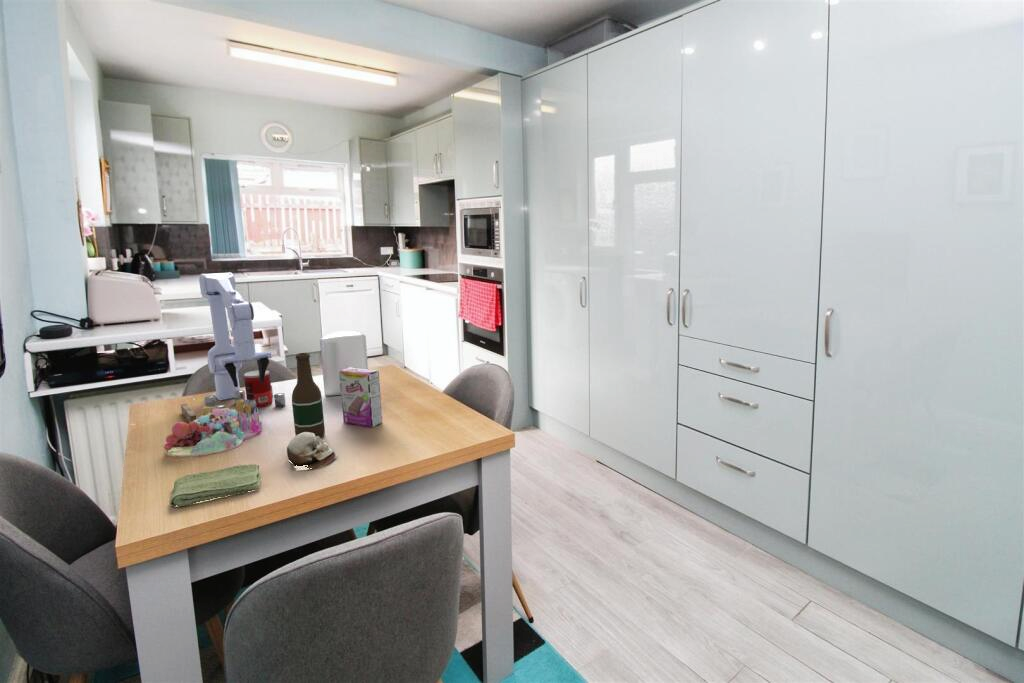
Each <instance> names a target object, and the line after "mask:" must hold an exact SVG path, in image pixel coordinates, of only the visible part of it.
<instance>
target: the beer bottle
mask: <svg viewBox="0 0 1024 683" xmlns="http://www.w3.org/2000/svg"><path fill="white" fill-rule="evenodd" d="M310 358H311V355H310V353H308V352H301V353H300V352H299V353H297V354H296V355H295V360H296V374H297V376H296V377H297V379H296V385H295V386H294V389H293V390H292V393H291V404H292V405H291V406H292V407H291V408H292V415H293V422H294V423H293V426H294V434H295V436H297V435H298V434H300V433H303V432H310V433H314V434H315V436H316V437H317V436H319V437H320V438H321V439H322V440H323V438H324V436H325V434H326V431H325V429H326V428H325V427H326V426H325V420H324V419H325V418H324V405H323V397H322V391H321V390H320V387H319V385H318V384H316V382H315V381H314V377H313V374H312V368H311V367H312V366H311V361H310Z"/></svg>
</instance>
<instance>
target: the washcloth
mask: <svg viewBox="0 0 1024 683" xmlns="http://www.w3.org/2000/svg"><path fill="white" fill-rule="evenodd" d="M259 470H260V465H259V464H255V463H253V464H252V463H251V464H242V465H241V464H239V465H234V466H230V467H225V468H221V469H220V468H219V469H216V470H211V471H204V472H197V473H192V474H186V475H183V476H182V477H178V478H176V479H175V481H174V482H173V490H172V494H171V496H170V500H169V505H170V507H172V506H176V505H177V506H183V507H185V506H184V505H188V506H191V505H190V504H193V503H196V502H200V501H205V500H210V499H213V498H218V497H225V496H228V495H234V494H238V493H242V494H244V493H243V492H247V493H249V492H248V491H252V490H257V491H259V490H260V483H261V476H262V475H261V474H260V471H259ZM238 495H239V494H238ZM234 496H235V495H234ZM225 498H226V497H225Z"/></svg>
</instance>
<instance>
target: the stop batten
mask: <svg viewBox="0 0 1024 683" xmlns="http://www.w3.org/2000/svg"><path fill="white" fill-rule="evenodd" d="M180 408H181V413H182V415H183V416H184V417H185V419H186V421H187V422H188V423H190V422H193V420H196V419H198V418H197V414H196V413H195V412H194V411H193V409H192V408H190V406H189V405H188V404H187V403H181V404H180Z"/></svg>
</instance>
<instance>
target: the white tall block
mask: <svg viewBox="0 0 1024 683" xmlns="http://www.w3.org/2000/svg"><path fill="white" fill-rule="evenodd" d="M366 339H367V337H366V335H365V334H364V333H362V332H359V331H356V330H338V331H334V332H331V333H329V334H327V335H323V336H322V337H321V338H320V339H319V347H320V357H321V367H322V368H321V369H322V378H323V379H322V380H323V389H324V396H327V397H329V396H331V397H333V396H341V385H340V374H339V371H340V370H343V369H346V368H349V367H353V368H361V369H369V364H368V353H367V352H368V351H367V350H368V349H367V340H366Z"/></svg>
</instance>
